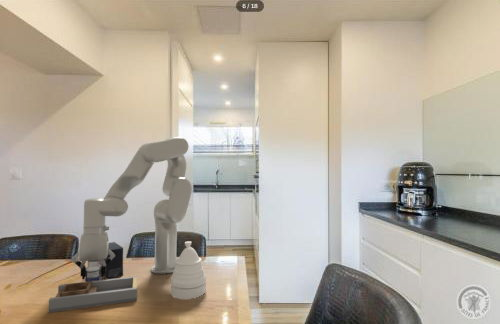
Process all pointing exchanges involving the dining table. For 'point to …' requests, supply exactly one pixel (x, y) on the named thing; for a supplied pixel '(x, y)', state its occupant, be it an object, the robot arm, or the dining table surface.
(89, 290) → the crate
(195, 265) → the honey pot
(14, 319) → the dining table surface
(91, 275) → the pill bottle
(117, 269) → the small box
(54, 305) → the bay
